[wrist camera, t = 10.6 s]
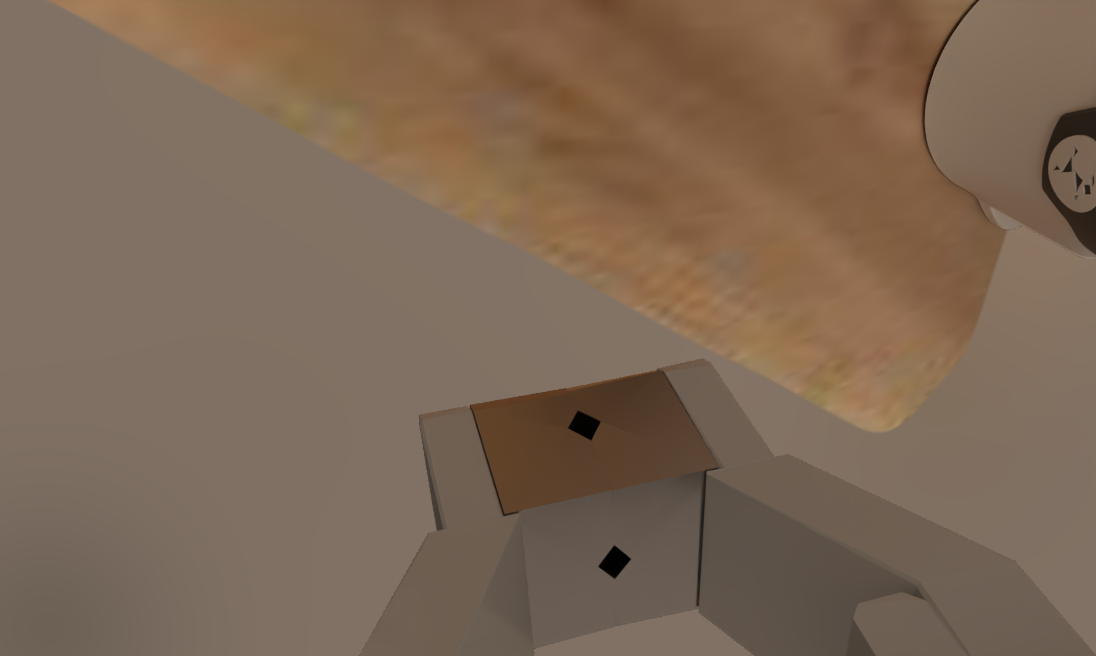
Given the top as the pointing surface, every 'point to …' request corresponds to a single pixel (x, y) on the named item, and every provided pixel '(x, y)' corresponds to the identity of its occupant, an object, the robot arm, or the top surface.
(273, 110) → the top surface
